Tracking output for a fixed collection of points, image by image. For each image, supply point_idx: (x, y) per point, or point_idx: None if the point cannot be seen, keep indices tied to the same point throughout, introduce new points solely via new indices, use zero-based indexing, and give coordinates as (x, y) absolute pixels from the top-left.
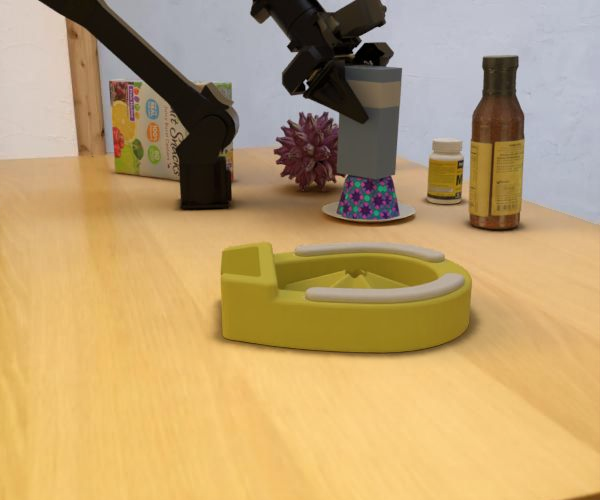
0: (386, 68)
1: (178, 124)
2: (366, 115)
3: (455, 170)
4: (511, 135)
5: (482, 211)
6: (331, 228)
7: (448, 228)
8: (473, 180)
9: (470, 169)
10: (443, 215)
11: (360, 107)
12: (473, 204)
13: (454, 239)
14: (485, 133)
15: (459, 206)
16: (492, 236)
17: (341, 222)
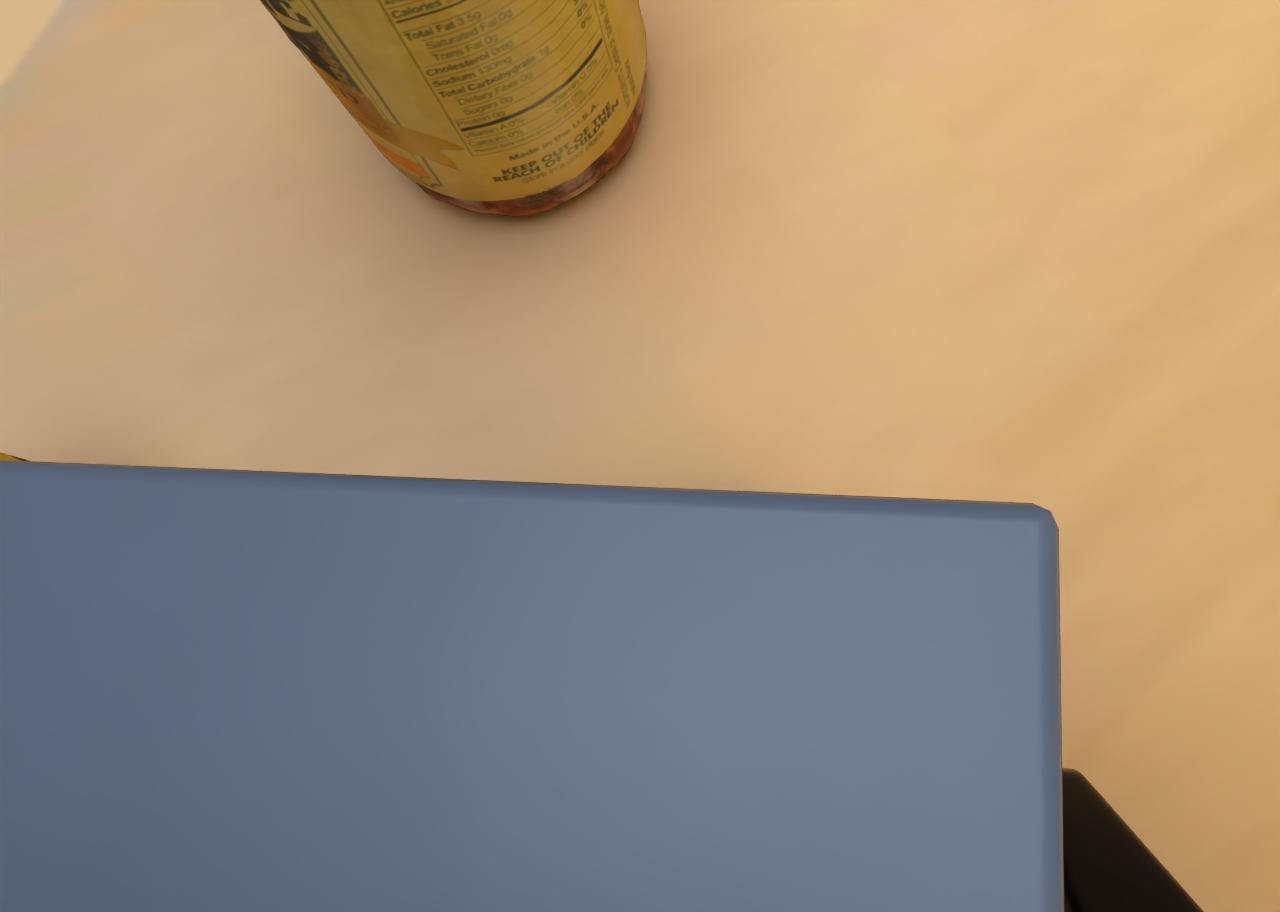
0: (567, 627)
1: None
2: (1083, 791)
3: (6, 459)
4: None
5: (641, 51)
6: (1171, 849)
7: (721, 260)
8: (583, 24)
9: (524, 30)
10: (447, 424)
11: (1177, 907)
12: (613, 100)
13: (923, 128)
14: None
15: (181, 453)
16: (744, 12)
17: None
